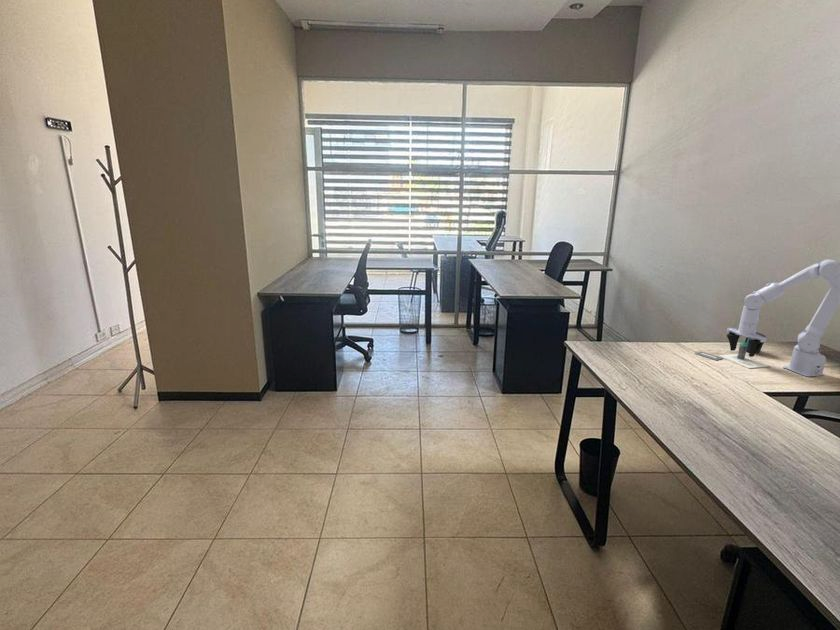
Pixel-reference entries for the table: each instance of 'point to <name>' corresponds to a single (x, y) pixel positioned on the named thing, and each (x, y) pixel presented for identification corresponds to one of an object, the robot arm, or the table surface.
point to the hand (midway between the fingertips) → (741, 353)
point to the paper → (744, 361)
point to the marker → (742, 350)
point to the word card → (709, 355)
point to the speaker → (752, 340)
